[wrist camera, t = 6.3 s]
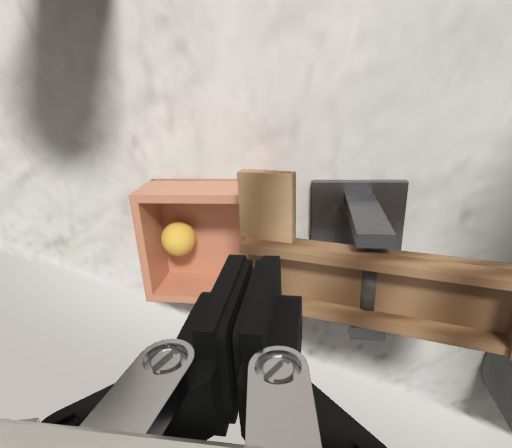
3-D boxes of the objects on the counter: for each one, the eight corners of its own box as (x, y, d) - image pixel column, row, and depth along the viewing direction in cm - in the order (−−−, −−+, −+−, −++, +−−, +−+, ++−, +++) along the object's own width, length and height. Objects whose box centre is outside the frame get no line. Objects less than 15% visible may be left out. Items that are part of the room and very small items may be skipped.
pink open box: (259, 179, 34) (251, 195, 29) (263, 278, 38) (256, 306, 33) (152, 179, 35) (128, 194, 31) (165, 274, 39) (146, 301, 34)
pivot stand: (406, 179, 32) (445, 222, 23) (394, 281, 36) (424, 353, 27) (312, 180, 33) (313, 220, 24) (310, 278, 37) (310, 346, 28)
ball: (175, 232, 32) (151, 224, 34) (179, 265, 33) (156, 256, 35) (201, 220, 34) (178, 214, 36) (204, 252, 36) (181, 244, 37)
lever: (547, 184, 21) (566, 200, 18) (509, 332, 25) (521, 362, 22) (243, 168, 27) (225, 178, 25) (249, 286, 31) (234, 306, 28)
